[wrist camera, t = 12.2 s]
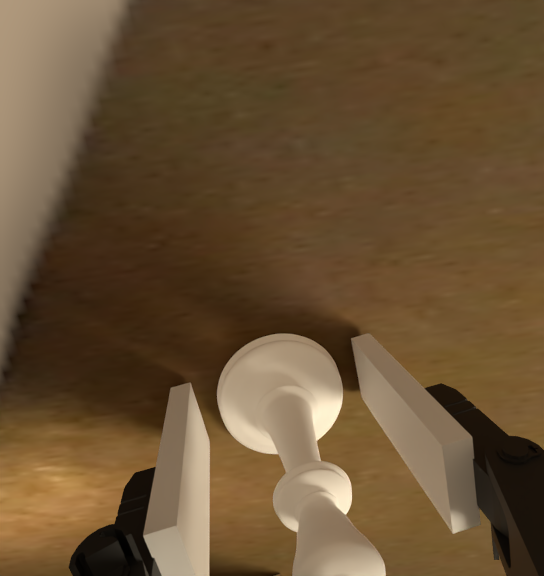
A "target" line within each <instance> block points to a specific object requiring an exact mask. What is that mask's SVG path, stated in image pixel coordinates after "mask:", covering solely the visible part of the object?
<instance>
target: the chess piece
mask: <svg viewBox="0 0 544 576" xmlns="http://www.w3.org/2000/svg"><path fill="white" fill-rule="evenodd" d="M342 399H343V386H342V381H341V377H340V374H339V371H338V368H337V366H336V363H335V361H334V360H333V358H332V357H331V355H330V354H329V353H328V352H327V351H326V350H325V349H324V348H323V347H322V346H321V345H319V344H318V343H316V342H315V341H313V340H311V339H309V338H306V337H303V336H300V335H295V334H272V335H268V336H264V337H261V338H258V339H256V340H254V341H252V342H250V343H248V344H246V345H245V346H243V347H242V348H241V349H240V350H238V351H237V352H236V353H235V354H234V355H233V356H232V357H231V359H230V360H229V361H228V363H227V364H226V366H225V367H224V369H223V371H222V373H221V376H220V379H219V382H218V388H217V402H218V407H219V410H220V413H221V417H222V420H223V422H224V424H225V426H226V428H227V430H228V431H229V432H230V434H231V435H232V436H233V437H234V438H235V439H236V440H237V441H238V442H240V443H241V444H243V445H244V446H246V447H248V448H250V449H252V450H255V451H258V452H262V453H267V454H279V456H280V459H281V461H282V463H283V465H284V468H285V471H286V474H285V475H284V476H283V477H282V478H281V479H280V481H279V482H278V484H277V486H276V488H275V490H274V494H273V506H274V509H275V512H276V514H277V515H278V517H279V518H280V520H281V521H282V523H283V524H284V525H285V526H286V527H288V528H289V529H291V530H293V531H295V532H297V548H296V555H295V559H294V564H293V573H292V576H386V572H385V565H384V562H383V559H382V557H381V556H380V554H379V552H378V551H377V550H376V548H375V547H374V546H373V545H372V543H371V542H370V541H369V540H368V539H367V538H366V537H365V536H364V535H363V534H362V533H360V532H359V531H358V530H357V529H356V527H355V526H354V525H353V524H352V523H351V521H350V520H349V518H348V517H347V516H346V514H347V512H348V510H349V508H350V505H351V501H352V488H351V483H350V480H349V478H348V476H347V474H346V473H345V472H344V471H343V470H342V469H341V468H340V467H338V466H336V465H334V464H332V463H329V462H325V461H321V459H320V455H319V450H318V445H317V440H319V439H320V438H321V437H322V436H323V435H324V434H325V433H326V432H327V431H328V430H329V429H330V428H331V426H332V425H333V423H334V422H335V420H336V418H337V416H338V414H339V411H340V409H341V405H342Z"/></svg>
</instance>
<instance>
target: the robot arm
mask: <svg viewBox="0 0 544 576" xmlns="http://www.w3.org/2000/svg"><path fill="white" fill-rule="evenodd" d="M351 342H352V348H353V353H354V358H355V364H356V369H357V375H358V380H359V386H360V391H361V397H362V399H363V401H364V402H365V404H366V405H367V407H368V408H369V410H370V411H371V413H372V414H373V416H374V417H375V419H376V420H377V422H378V423H379V425H380V426H381V427H382V429H383V430H384V432H385V433H386V435H387V436H388V438H389V439H390V441H391V442H392V444H393V445H394V447H395V448H396V450H397V451H398V453H399V454H400V456H401V457H402V459H403V460H404V462H405V463H406V465H407V466H408V468H409V469H410V471H411V472H412V474H413V475H414V477H415V478H416V480H417V481H418V483H419V484H420V486H421V487H422V488H423V490H424V491H425V493H426V494H427V496H428V497H429V499H430V500H431V502H432V503H433V505H434V506H435V508H436V509H437V511H438V512H439V514H440V515H441V517H442V518H443V520H444V521H445V523H446V524H447V526H448V527H449V529H450V530H451V532H452V533H456V532H460V531H463V530H466V529H469V528H472V527H475V526H478V525H481V524H480V514H479V508H480V509H481V510H482V512H483V513H484V514H485V515H486V517H487V518H488V519H489V520H490V522H491V531H492V543H493V554H494V560H499V556H500V559H501V561H502V564H503V567H504V570H505V572H506V575H507V576H544V450H543V449H542V448H541V447H540V446H539V445H538V444H536V443H534V442H532V441H530V440H528V439H525V438H521V437H518V436H508V435H507V434H506V433H505V432H504V431H503V430H502V429H500V428H499V427H498V426H497V425H496V424H495V423H494V422H493V421H491V420H490V419H489V418H488V417H487V416H486V415H485V414H483V413H482V412H481V411H480V410H479V409H476V407H475V406H474V405H473V404H472V403H471V402H470V401H467V399H466V398H465V397H464V396H463V395H462V394H461V393H460V392H458V391H457V390H456V389H453V388H451V387H449V386H446V385H444V384H437V385H434V386H431V387H427V388H423V387H422V386H421V385H420V384H419V383H418V382H417V381H416V380H415V379H414V378H413V377H412V376H411V375H410V374H409V373H408V372H407V371H406V370H405V369H404V368H403V367H402V366H401V365H400V364H399V363H398V362H397V361H396V360H395V359H394V358H393V357H392V356H391V354H390V353H389V352H388V351H387V350H386V349H385V348H384V347H383V346H382V345H381V344H380V343H379V342H378V341H377V340H376V339H375V338H374V337H373V336H372V335H371V334H370V333H368V334H364V335H361V336H357V337H354V338H351ZM209 520H210V441H209V438H208V435H207V432H206V428H205V425H204V422H203V419H202V416H201V413H200V410H199V407H198V404H197V401H196V398H195V394H194V391H193V388H192V385H191V382H190V383H186V384H182V385H179V386H175V387H172V388H171V389H170V394H169V400H168V405H167V410H166V416H165V421H164V426H163V432H162V437H161V442H160V448H159V453H158V458H157V464H156V467H154V468H150V469H147V470H143V471H140V472H136V473H134V475H133V476H132V478H131V479H130V481H129V482H128V483H127V485H126V486H125V488H124V492H123V495H122V499H121V504H120V506H119V510H118V516H117V517H116V521H115V524H111V525H108V526H105V527H103V528H100V529H98V530H97V531H95V532H94V533H92V534H91V535H89V536H88V537H87V538H86V539H85V540H84V541H83V542H82V543H81V544H80V545H79V546H78V547H77V549H76V550H75V552H74V553H73V555H72V557H71V560H70V565H69V569H70V571H71V573H72V575H73V576H209Z"/></svg>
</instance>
